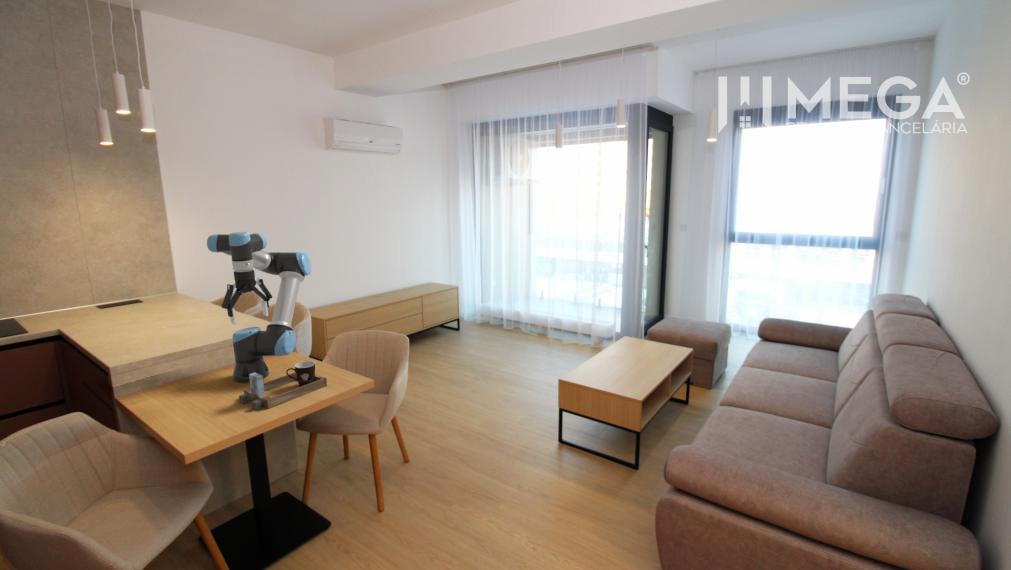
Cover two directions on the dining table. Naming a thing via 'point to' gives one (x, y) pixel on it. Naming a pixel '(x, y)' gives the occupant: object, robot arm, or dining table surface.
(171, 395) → the dining table surface
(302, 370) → the coffee mug
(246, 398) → the block
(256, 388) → the brown frame
